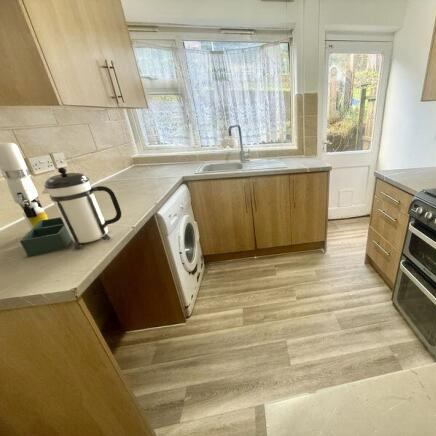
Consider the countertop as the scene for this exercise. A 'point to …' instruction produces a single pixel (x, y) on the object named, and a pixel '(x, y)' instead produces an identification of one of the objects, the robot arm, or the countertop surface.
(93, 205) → the coffee press
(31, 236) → the box
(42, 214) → the supplement bottle
